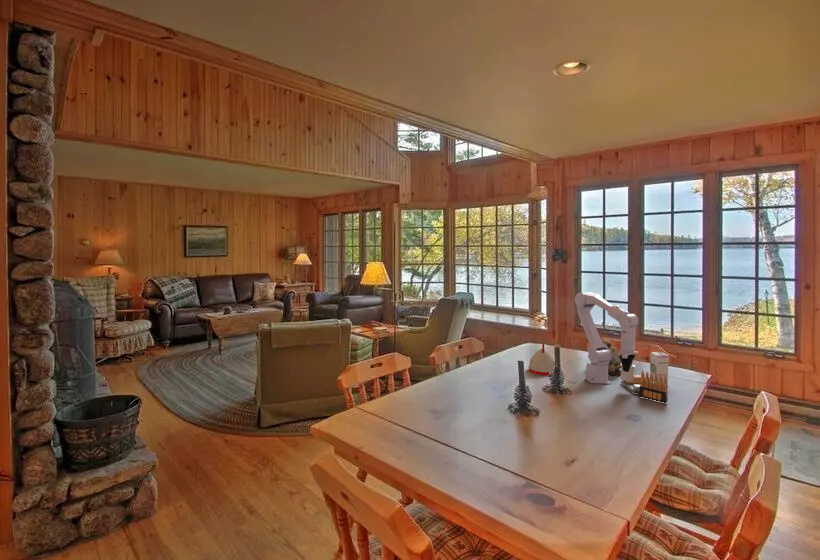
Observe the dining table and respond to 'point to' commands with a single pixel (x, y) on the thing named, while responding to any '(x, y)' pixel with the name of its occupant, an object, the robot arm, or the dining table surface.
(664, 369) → the syrup box
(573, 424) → the dining table surface
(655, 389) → the ammunition clip
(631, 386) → the vise
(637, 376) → the block
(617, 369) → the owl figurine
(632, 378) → the steel block
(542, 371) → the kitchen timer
